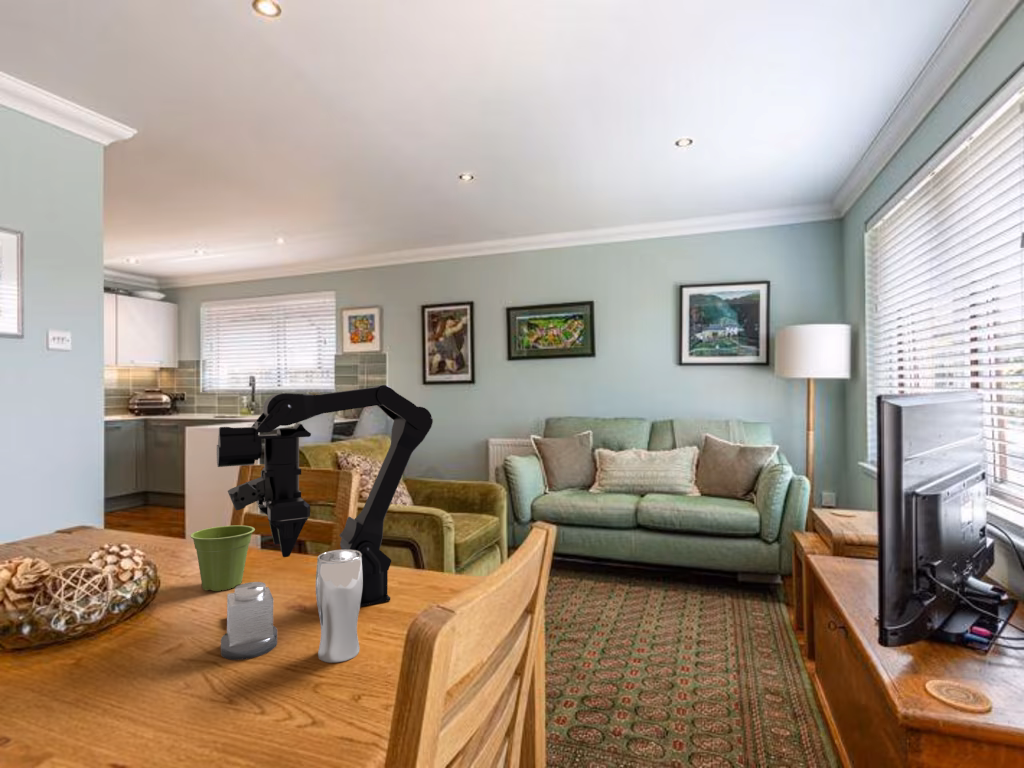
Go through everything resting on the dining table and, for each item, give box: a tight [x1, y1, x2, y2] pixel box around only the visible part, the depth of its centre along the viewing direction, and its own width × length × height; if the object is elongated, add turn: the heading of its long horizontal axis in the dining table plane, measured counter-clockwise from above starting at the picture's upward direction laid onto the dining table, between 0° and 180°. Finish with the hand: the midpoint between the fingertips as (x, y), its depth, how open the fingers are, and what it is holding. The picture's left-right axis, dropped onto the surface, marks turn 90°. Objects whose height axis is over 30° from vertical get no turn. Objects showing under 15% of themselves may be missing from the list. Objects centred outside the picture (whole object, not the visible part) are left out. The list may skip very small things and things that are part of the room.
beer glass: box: [315, 549, 363, 664], centre depth 83 cm, size 7×7×15 cm
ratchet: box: [220, 625, 278, 661], centre depth 89 cm, size 18×8×6 cm, turn 31°
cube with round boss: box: [226, 581, 274, 647], centre depth 85 cm, size 6×6×8 cm
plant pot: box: [189, 525, 256, 592], centre depth 112 cm, size 12×12×11 cm
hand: (281, 550), depth 96 cm, fingers open, 9 cm apart
